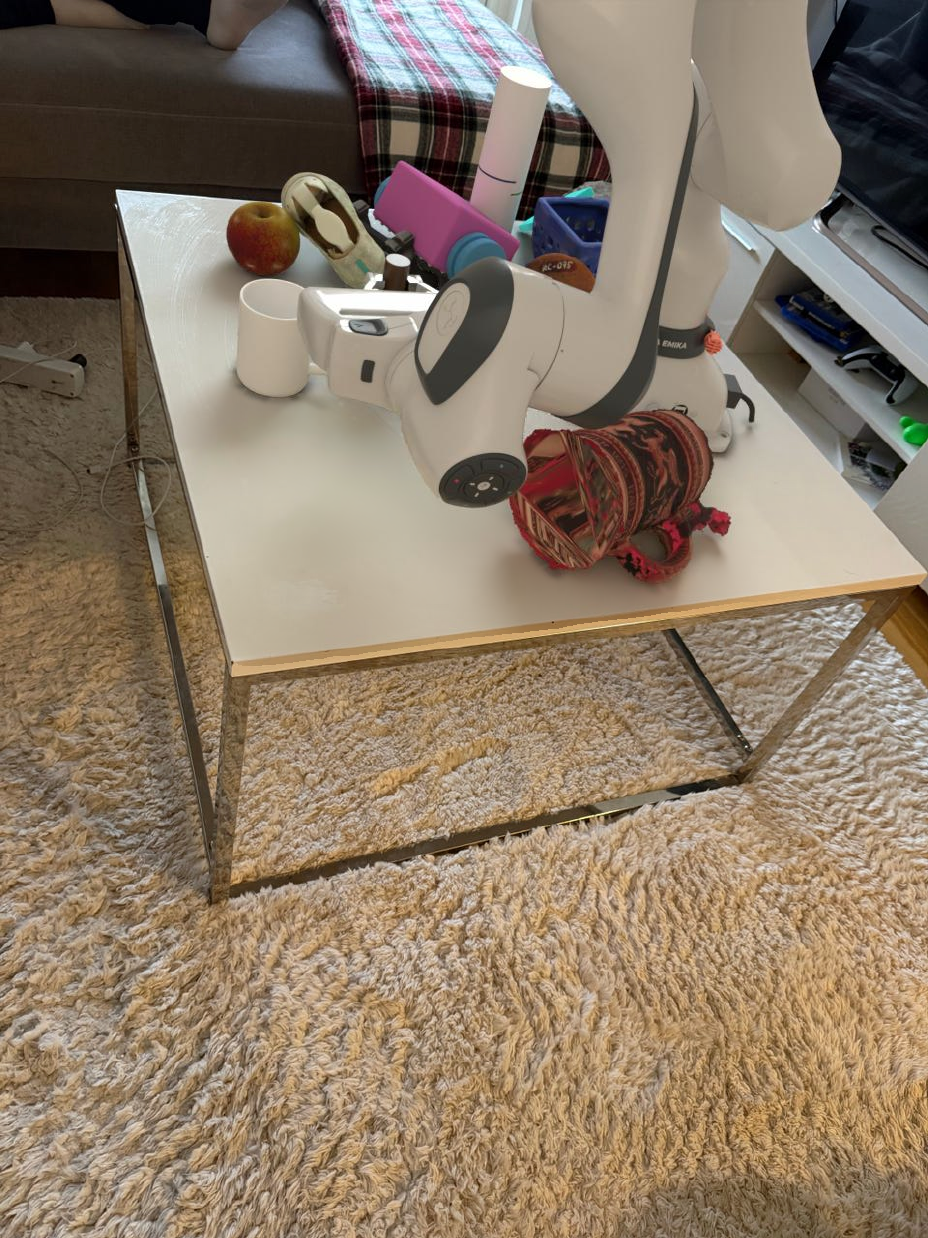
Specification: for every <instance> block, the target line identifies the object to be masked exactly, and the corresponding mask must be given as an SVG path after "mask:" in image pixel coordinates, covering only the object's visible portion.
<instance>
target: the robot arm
mask: <svg viewBox="0 0 928 1238" xmlns="http://www.w3.org/2000/svg"><path fill="white" fill-rule="evenodd" d="M808 6H809V0H531V6H530V8H531V9H530V11H531V22H532V26H533V29H534V30H533V31H534V35H535V37H536V38H535V39H536V41H537V44H538V47H539V49H540V53H541V55H542V57H543V59H544V61H545V63H546V66H547V67H548V68H549V71H550V73H551V74H552V76H553V77H554V79H555V80H556V82H557V83H558V86H560V87H561V89H562V90H563V91H564V92H565V94H567V96H568V97H569V98H570V99H571V101H572V102H573V103H574V104H575V105H576V107H577V108H578V110H580V112H581V113H582V114H583V116H584V117H585V118H586V120H587V121H588V123H589V125H590V126H591V128H592V130H593V131H594V133H595V134H596V136H597V138H598V140H599V142H600V143H601V145H602V148H603V150H604V152H605V155H606V159H607V161H608V164H609V165H608V166H609V169H610V176H611V177H610V178H611V184H612V192H611V200H610V205H609V210H608V216H607V221H606V226H605V232H604V237H603V242H602V247H601V253H600V258H599V263H598V269H597V274H596V279H595V284H594V287H593V289H592V291H591V293H587V292H585V291H582V290H580V289H577V288H574V287H572V286H569V285H567V284H564V283H561V282H559V281H556V280H554V279H552V278H551V277H549V276H547V275H544V274H542V273H539V272H536V271H534V270H531V269H529V268H526V266H523V265H520V264H518V263H515V262H512V261H511V262H510V261H507V260H503V259H501V258H499V257H494V256H492V257H486V258H483V259H480V260H478V261H476V262H474V263H472V264H470V265H469V266H467V267H465V268H464V269H463V270H461V271H460V272H459V273H457V274H456V275H455V276H454V277H453V278H451V279H449V280H448V281H447V282H446V283H444V284H443V285H442V287H441V288H439V290H438V289H436V290H435V289H434V288H432V287H430V286H429V285H427V284H425V283H423V281H422V279H421V277H420V275H408V280H407V286H406V291H386V290H383V289H384V288H385V279H384V277H383V274H382V273H372V272H367V273H366V278H365V287H364V289H356V288H346V287H345V288H343V287H326V286H325V287H323V286H307V287H304V290H303V291H302V292H301V293H300V295H299V300H298V308H297V326H298V330H299V333H300V336H301V338H302V341H303V343H304V345H305V347H306V349H307V351H308V353H309V355H310V357H311V360H312V361H313V363H314V364H316V365H317V366H318V367H320V368H321V369H322V370H324V371H326V372H327V375H326V384H327V385H326V386H327V389H328V391H329V393H331V394H332V395H335V396H337V397H341V398H346V399H350V400H356V401H360V402H364V403H367V404H372V405H375V406H377V407H381V408H383V409H386V410H388V411H391V412H394V413H395V415H396V417H398V419H399V420H400V428H401V432H402V433H401V434H402V436H403V439H404V442H405V444H406V447H407V449H408V452H409V454H410V457H411V459H412V461H413V463H414V465H415V467H416V470H417V471H418V473H419V475H420V476H421V478H422V480H423V482H424V483H425V484H426V486H427V487H428V488H429V490H430V491H431V493H433V494H434V495H435V496H436V497H437V499H440V500H441V501H442V502H444V503H445V504H448V505H451V506H455V507H461V508H468V509H481V508H488V507H491V506H495V505H497V504H500V503H502V502H504V501H506V500H509V497H511V496H512V495H514V494H515V493H516V492H517V491H518V490H519V489H520V488H521V487H522V486H523V484H524V482H525V480H526V478H527V473H528V465H527V459H526V454H525V450H524V447H523V443H524V431H525V423H526V416H527V412H528V408H530V409H533V410H537V411H540V412H544V413H547V414H550V415H551V416H553V417H555V418H558V419H560V420H561V421H565V422H567V423H569V424H572V425H574V426H577V427H580V428H581V429H588V430H597V429H602V428H605V427H607V426H609V425H611V424H613V423H615V422H616V421H618V420H620V419H621V418H623V417H624V416H625V415H627V414H629V413H632V412H637V411H651V412H652V411H655V410H658V409H666V410H676V411H679V412H681V413H684V414H685V415H687V416H688V417H690V418H691V419H693V420H694V422H695V423H696V424H697V426H698V427H700V428H701V430H703V431H704V433H705V435H706V436H707V437H708V445H709V448H710V449H711V450H712V453H723V452H725V451H726V450H727V448H728V447H729V444H730V442H731V439H732V435H733V434H732V433H733V427H732V421H731V418H730V415H729V412H728V410H727V409H731V410H735V409H736V408H737V406H738V405H739V402H740V400H742V401H744V403H745V404H746V405H747V407H748V410H749V411H748V423H751V424H752V423H754V422H755V415H756V407H755V404H754V402H753V400H752V399H751V398H750V397H749V396H748V395H747V394H745V393H744V392H743V390H742V388H741V385H740V384H739V382H738V379H737V377H736V375H735V374H729V373H724V371H723V369H722V367H721V366H720V364H719V363H718V362H717V360H716V359H715V357H714V356H713V355H716V354H718V353H721V350H723V346H724V345H723V342H722V338H721V335H720V334H719V333H718V332H716V325H715V323H714V322H713V320H712V319H711V317H710V315H709V310H710V308H711V306H712V304H713V302H714V300H715V297H716V295H717V293H718V291H719V288H720V287H721V285H722V282H723V281H724V278H725V276H726V275H727V272H728V269H729V266H730V262H731V261H730V260H731V250H730V244H729V241H728V237H727V234H726V232H725V230H724V229H725V228H724V225H723V221H722V207H721V206H723V207H725V208H726V209H728V210H729V211H730V212H731V213H732V214H733V215H735V216H737V217H738V218H740V219H742V220H745V221H746V222H749V223H751V224H755V225H757V226H759V227H762V228H765V229H767V230H771V231H773V232H777V233H783V232H789V231H791V230H793V229H795V228H797V227H799V226H801V225H803V224H805V223H806V222H808V221H809V220H811V219H813V217H814V216H815V215H817V214H818V212H820V210H822V208H823V207H824V206H825V205H826V203H827V202H828V201H829V199H830V198H831V196H832V195H833V193H834V190H835V188H836V186H837V183H838V180H839V177H840V173H841V167H842V150H841V146H840V144H839V142H838V140H837V138H836V137H835V135H834V133H833V132H832V129H831V128H830V126H829V124H828V122H827V120H826V117H825V115H824V113H823V109H822V107H821V104H820V101H819V97H818V93H817V90H816V85H815V81H814V76H813V70H812V65H811V59H810V51H809V44H808V43H809V42H808V31H807V30H808V29H807V27H808V26H807V17H808V16H807V15H808Z"/></svg>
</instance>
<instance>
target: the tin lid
mask: <svg viewBox="0 0 928 1238" xmlns="http://www.w3.org/2000/svg"><path fill="white" fill-rule="evenodd" d="M410 264H411V263H410V260H409V259H408V258H406V257H405V256H402V255H399V254H389V255H387V256H386V258H385V264H384V270H383V277H384V279H385V288H384V289H383V290H386V291H406V286H407V280H408V275H409V270H410Z"/></svg>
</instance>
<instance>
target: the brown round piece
mask: <svg viewBox="0 0 928 1238" xmlns="http://www.w3.org/2000/svg"><path fill="white" fill-rule="evenodd" d="M529 262H530V263H529V264H528V265H527V266H526V265H525V267H526V268H529V269H531V270H534V271H536V272H539V273H542V274H544V275H547V276H549V277H551V278H552V279H554V280H556V281H559V282H561V283H564V284H567V285H569V286H572V287H574V288H577V289H580V290H582V291H585V292H587V293H591V291H592V289H593V287H594V284H595V278H594V276H593V274H592V272H591V271H590V270H589V269H588V267H587V266H586V265H585V264H583V263H582V262H581V261H580V260H578V259H577V258H575V257H570V256H568V255H565V254H562V253H550V254H546V255H542V256H539V257H537V258H535V259H534V258H533V260H531V261H529Z"/></svg>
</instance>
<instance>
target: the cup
mask: <svg viewBox="0 0 928 1238" xmlns="http://www.w3.org/2000/svg"><path fill="white" fill-rule="evenodd" d="M304 289H305V287H303V286H301V285H299V284H297V283H294V282H291V281H287V280H284V279H277V278H260V279H255V280H252V281H249V282H247V283H246V284H244V285H243V286H242V287H241V289H240V291H239V300H238V323H237V341H236V342H237V343H236V344H237V345H236V361H235V362H236V374H237V377H238V379H239V381H240V382H241V383H242V385H243V386H245V387H246V389H248V390H250V391H251V392H254V393H256V394H258V395H260V396H261V395H262V396H265V397H270V398H286V397H291V396H294V395H297V394H298V393H300V392H301V391H302V390H303V389H305V387H306V385H307V384H308V380H309V375H313V376H327V372H326V371H324V370H322V369H321V368H320V367H318V366H317V365H316V364H315V363H314V362H311V360H312V358H311V357H310V355H309V353H308V351H307V349H306V347H305V345H304V343H303V341H302V338H301V336H300V333H299V330H298V326H297V308H298V300H299V295H300V293H301V292H302V291H303V290H304Z"/></svg>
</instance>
